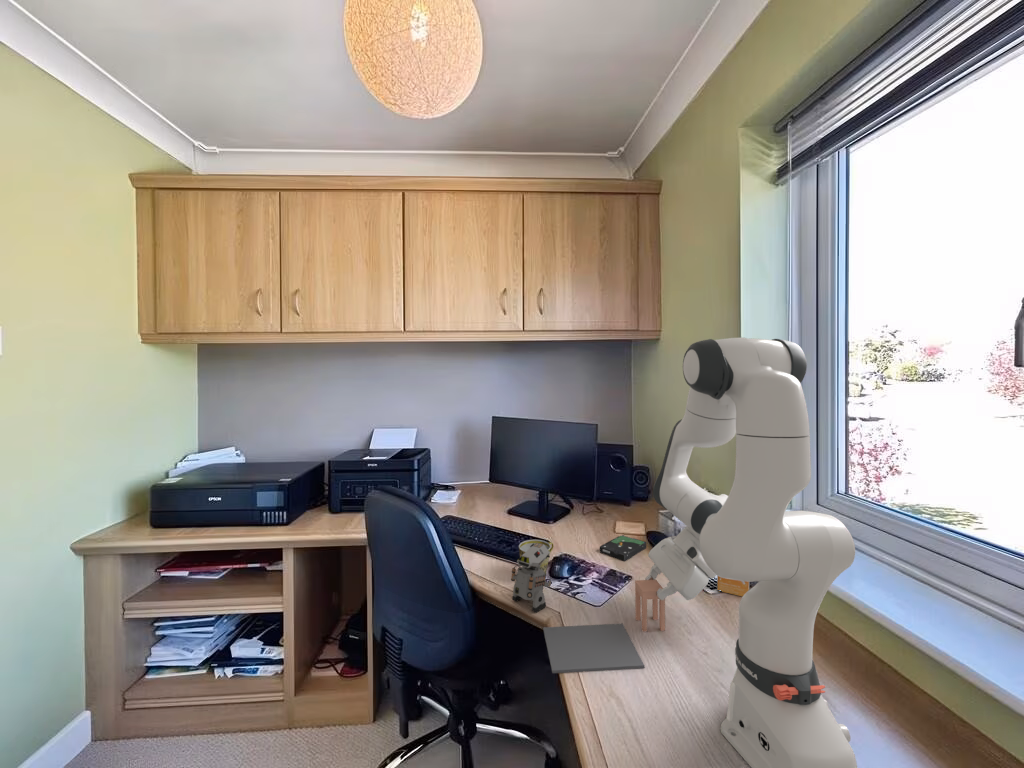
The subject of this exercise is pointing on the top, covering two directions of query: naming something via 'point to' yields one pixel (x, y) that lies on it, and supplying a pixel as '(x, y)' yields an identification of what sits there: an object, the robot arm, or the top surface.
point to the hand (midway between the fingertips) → (653, 589)
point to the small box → (732, 586)
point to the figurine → (531, 576)
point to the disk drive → (623, 547)
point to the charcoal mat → (590, 648)
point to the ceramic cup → (526, 546)
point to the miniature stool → (646, 592)
